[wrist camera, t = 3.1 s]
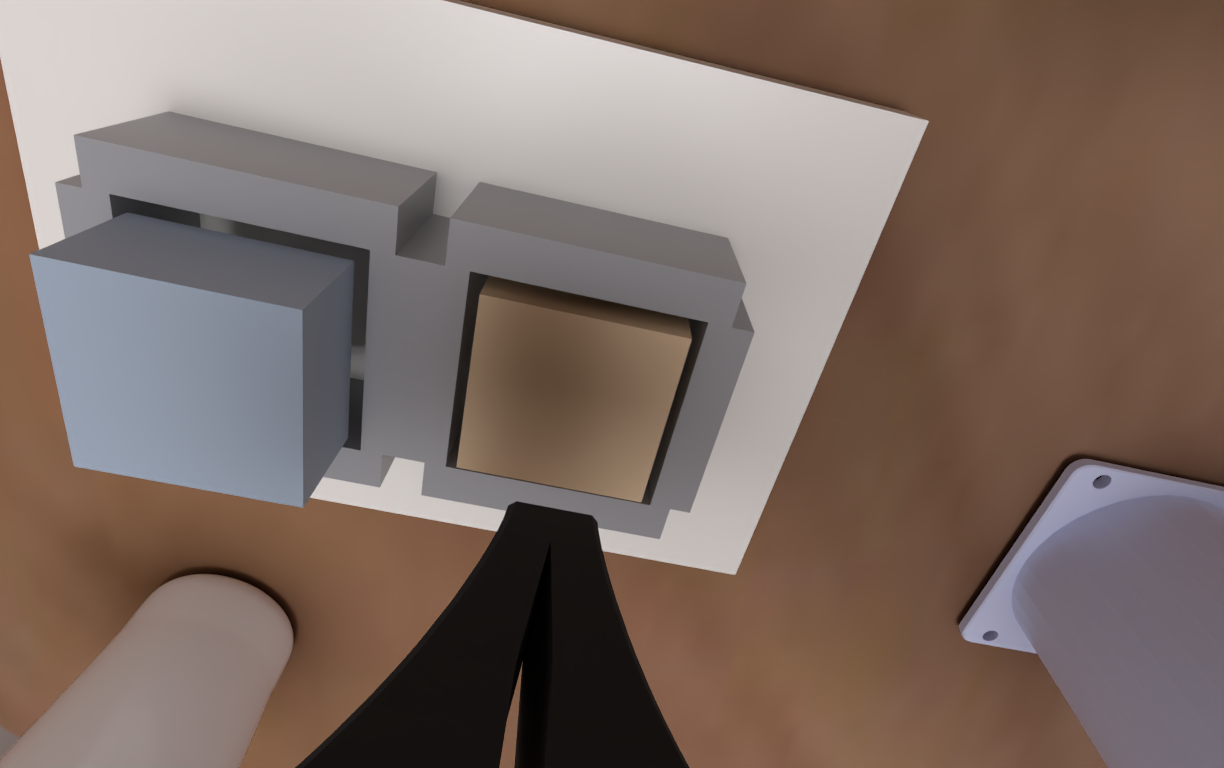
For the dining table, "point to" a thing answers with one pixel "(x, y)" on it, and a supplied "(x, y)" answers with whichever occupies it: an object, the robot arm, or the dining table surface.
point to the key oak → (569, 388)
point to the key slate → (199, 356)
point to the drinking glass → (169, 684)
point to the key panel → (483, 214)
